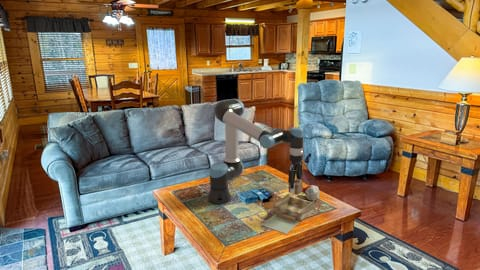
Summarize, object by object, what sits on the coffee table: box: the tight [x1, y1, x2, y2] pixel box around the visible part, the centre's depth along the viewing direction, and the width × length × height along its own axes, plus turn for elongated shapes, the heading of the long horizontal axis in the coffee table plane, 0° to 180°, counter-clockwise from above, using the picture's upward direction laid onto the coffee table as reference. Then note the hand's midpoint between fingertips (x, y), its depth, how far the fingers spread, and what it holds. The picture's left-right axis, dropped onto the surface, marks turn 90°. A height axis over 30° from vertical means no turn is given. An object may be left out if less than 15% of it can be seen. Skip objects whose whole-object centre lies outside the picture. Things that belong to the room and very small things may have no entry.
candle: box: [301, 184, 320, 202], centre depth 213 cm, size 9×11×15 cm
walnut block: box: [288, 179, 304, 195], centre depth 191 cm, size 6×6×6 cm
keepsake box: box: [273, 193, 316, 223], centre depth 195 cm, size 18×17×6 cm
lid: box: [260, 212, 301, 235], centre depth 182 cm, size 16×16×3 cm
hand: (295, 191), depth 192 cm, fingers closed on walnut block, 6 cm apart
